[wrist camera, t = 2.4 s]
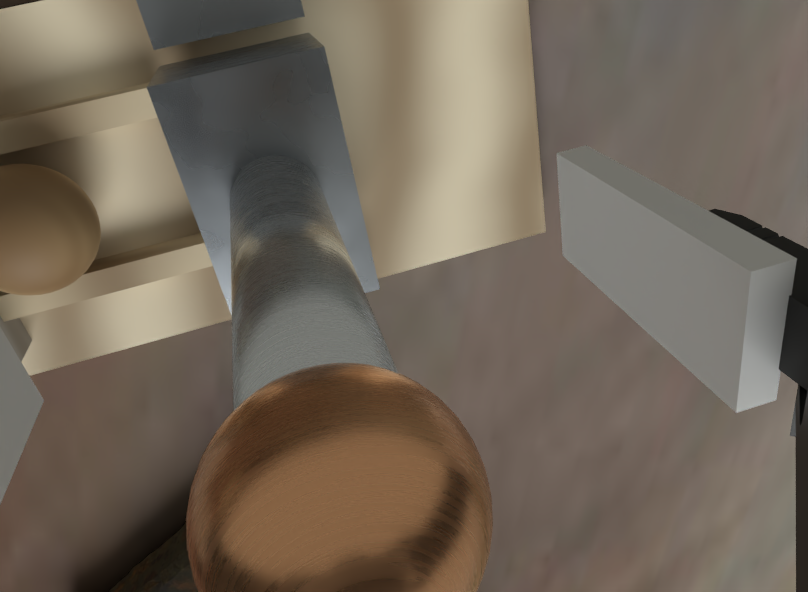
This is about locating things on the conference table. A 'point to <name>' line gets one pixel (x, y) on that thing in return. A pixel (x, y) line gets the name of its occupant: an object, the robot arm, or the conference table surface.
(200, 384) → the conference table surface
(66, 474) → the conference table surface
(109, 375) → the conference table surface
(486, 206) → the knob lever base plate
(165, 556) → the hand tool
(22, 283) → the brown ball
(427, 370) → the conference table surface
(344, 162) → the ball-top joystick
